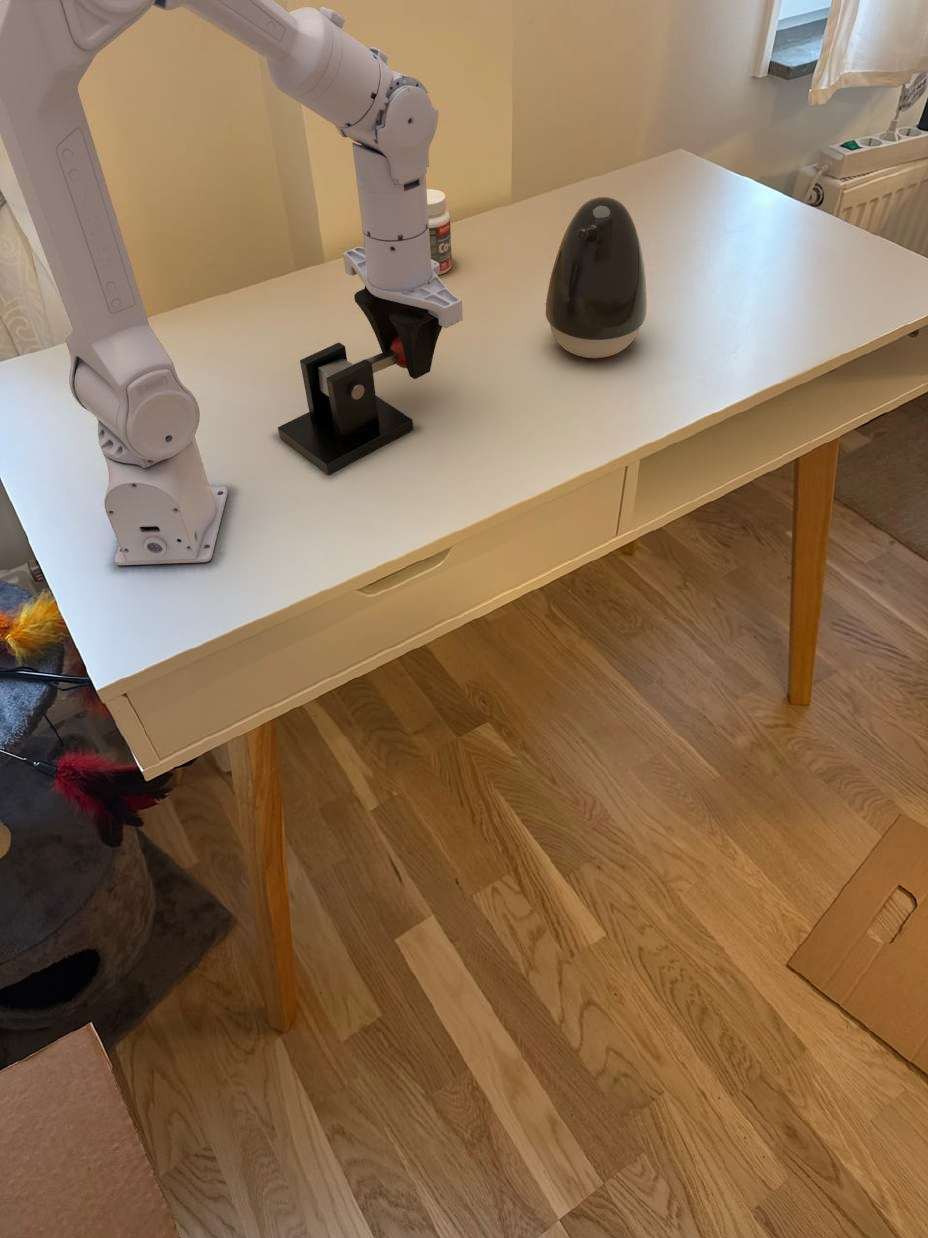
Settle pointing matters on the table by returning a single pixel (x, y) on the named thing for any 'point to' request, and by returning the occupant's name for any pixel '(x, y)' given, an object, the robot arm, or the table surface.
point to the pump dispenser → (598, 282)
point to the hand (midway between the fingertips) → (408, 366)
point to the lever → (378, 361)
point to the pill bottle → (439, 230)
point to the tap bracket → (342, 414)
